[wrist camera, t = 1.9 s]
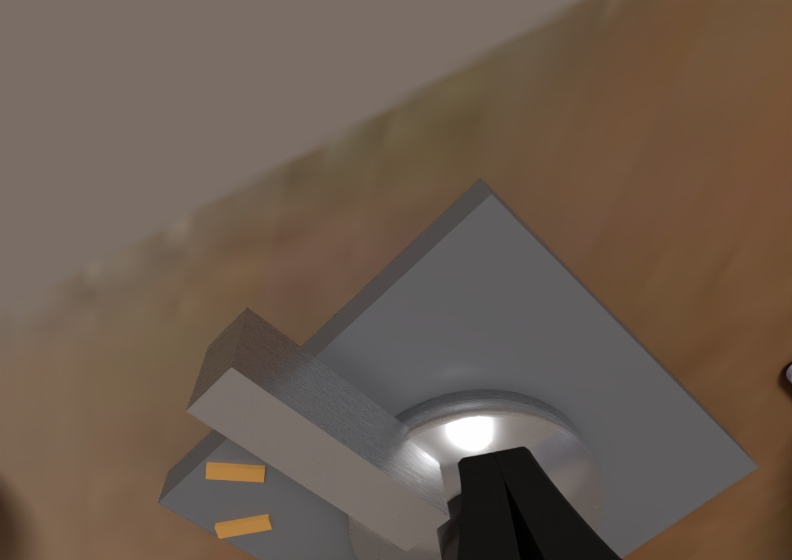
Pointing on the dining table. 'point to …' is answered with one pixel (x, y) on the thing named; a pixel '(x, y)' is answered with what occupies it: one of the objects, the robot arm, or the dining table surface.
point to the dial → (379, 441)
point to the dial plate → (480, 369)
